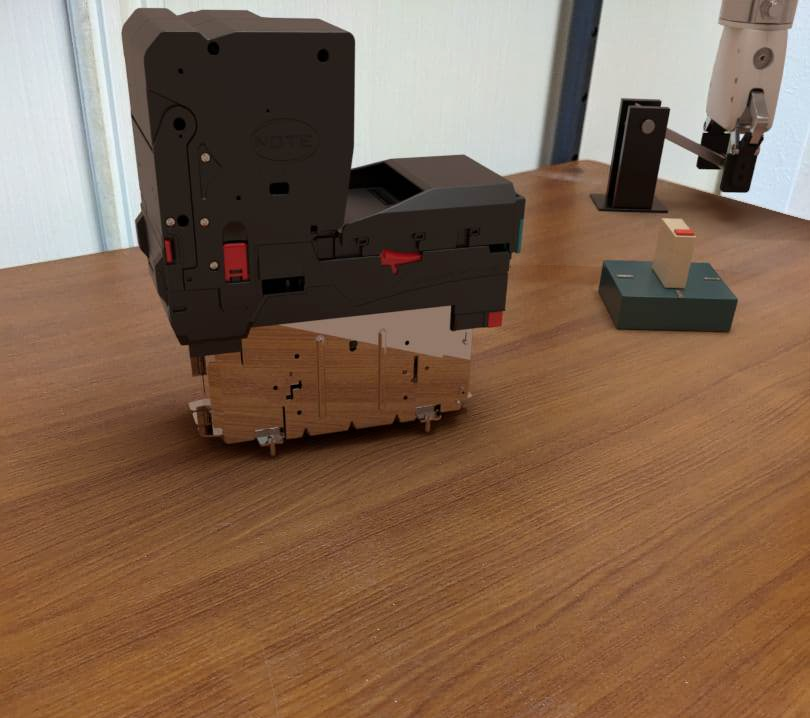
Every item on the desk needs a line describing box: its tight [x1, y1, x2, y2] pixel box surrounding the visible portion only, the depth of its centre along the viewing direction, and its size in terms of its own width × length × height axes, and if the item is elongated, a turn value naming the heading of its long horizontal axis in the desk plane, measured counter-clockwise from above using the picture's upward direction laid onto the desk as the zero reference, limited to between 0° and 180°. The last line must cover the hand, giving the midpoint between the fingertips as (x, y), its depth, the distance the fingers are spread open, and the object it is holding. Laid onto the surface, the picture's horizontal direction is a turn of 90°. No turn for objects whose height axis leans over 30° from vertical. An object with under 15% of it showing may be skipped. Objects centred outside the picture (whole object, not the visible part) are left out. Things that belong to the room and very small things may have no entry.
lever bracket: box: [589, 97, 671, 214], centre depth 105 cm, size 8×6×12 cm
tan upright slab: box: [652, 217, 697, 288], centre depth 81 cm, size 5×2×5 cm, turn 0°
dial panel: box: [598, 259, 739, 333], centre depth 83 cm, size 10×9×3 cm
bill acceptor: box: [120, 7, 527, 457], centre depth 59 cm, size 10×23×25 cm, turn 110°
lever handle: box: [624, 103, 727, 171], centre depth 104 cm, size 13×6×2 cm, turn 91°
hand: (721, 179), depth 106 cm, fingers open, 9 cm apart
